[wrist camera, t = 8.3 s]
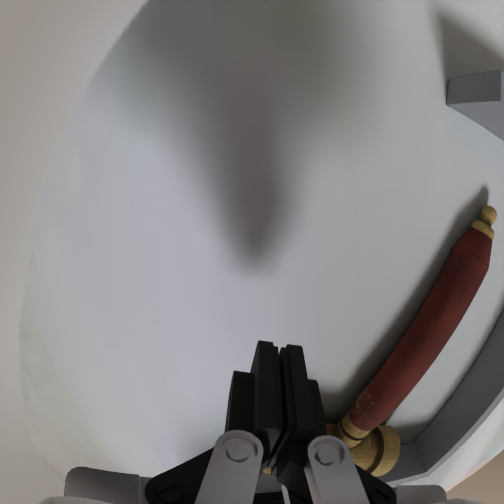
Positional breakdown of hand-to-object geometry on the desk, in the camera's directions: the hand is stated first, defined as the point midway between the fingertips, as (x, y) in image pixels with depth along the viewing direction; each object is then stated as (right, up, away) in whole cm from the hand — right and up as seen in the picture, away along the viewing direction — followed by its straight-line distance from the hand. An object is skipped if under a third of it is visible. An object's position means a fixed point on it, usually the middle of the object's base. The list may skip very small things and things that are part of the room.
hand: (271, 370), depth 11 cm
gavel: (+8, -1, +5) cm, 10 cm away
